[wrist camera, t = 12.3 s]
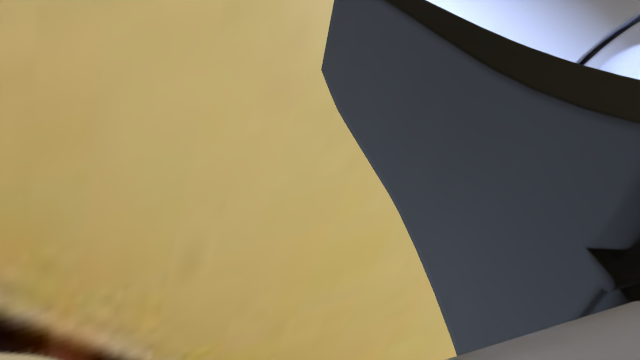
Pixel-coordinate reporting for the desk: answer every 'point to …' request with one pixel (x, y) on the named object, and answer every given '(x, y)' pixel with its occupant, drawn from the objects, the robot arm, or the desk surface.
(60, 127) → the desk surface
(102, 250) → the desk surface
